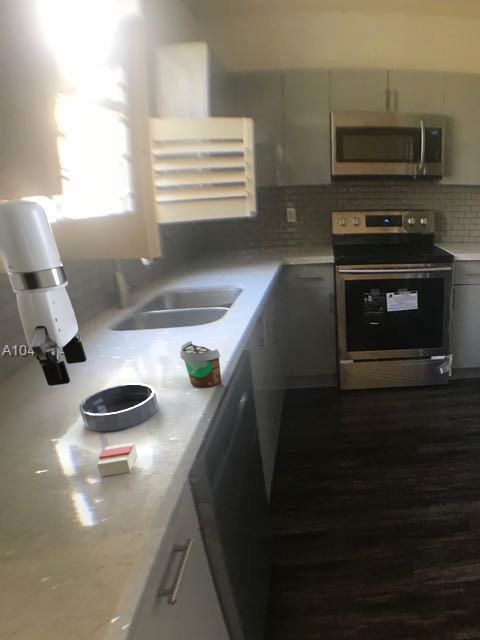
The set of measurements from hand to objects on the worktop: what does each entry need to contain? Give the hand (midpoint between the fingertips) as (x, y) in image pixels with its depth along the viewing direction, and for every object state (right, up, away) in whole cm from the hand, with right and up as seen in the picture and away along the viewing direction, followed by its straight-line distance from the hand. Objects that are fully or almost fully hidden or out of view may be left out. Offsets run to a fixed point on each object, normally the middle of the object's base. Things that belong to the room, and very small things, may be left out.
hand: (68, 372), depth 82 cm
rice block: (+6, -18, +6) cm, 20 cm away
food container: (+9, -5, +38) cm, 39 cm away
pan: (-4, -11, +23) cm, 26 cm away
